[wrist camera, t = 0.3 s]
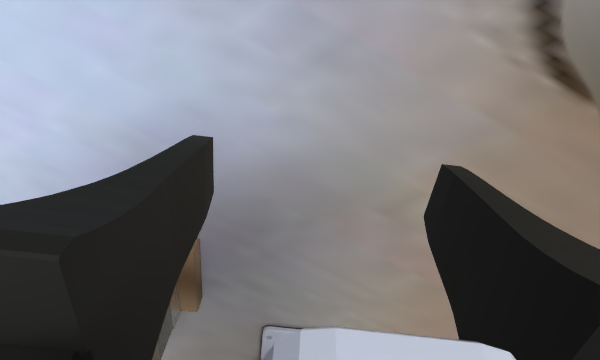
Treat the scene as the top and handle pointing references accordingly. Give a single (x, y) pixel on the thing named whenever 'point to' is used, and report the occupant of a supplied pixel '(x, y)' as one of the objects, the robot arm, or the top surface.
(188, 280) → the stand
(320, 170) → the top surface
